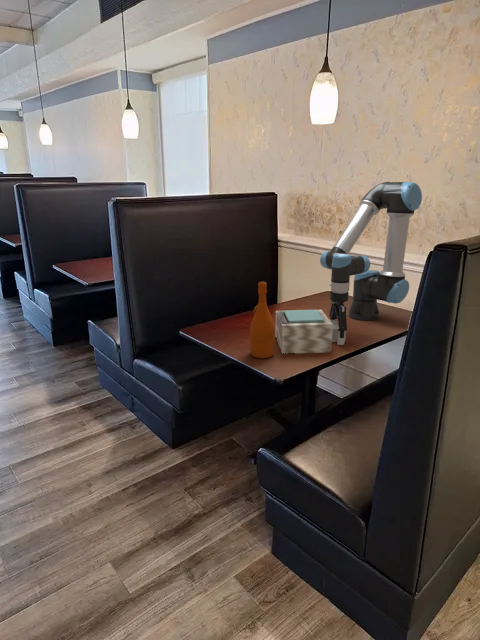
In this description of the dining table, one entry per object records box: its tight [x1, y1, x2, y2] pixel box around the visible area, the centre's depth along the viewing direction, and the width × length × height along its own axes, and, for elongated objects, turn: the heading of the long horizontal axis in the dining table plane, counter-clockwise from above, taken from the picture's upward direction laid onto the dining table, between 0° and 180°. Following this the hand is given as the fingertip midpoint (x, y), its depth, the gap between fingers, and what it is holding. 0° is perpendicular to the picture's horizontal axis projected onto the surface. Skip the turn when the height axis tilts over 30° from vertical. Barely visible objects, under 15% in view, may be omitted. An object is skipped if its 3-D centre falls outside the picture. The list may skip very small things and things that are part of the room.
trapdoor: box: [283, 309, 324, 323], centre depth 180 cm, size 14×14×1 cm
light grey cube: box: [332, 323, 347, 343], centre depth 188 cm, size 6×6×6 cm
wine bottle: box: [249, 281, 276, 359], centre depth 169 cm, size 10×10×30 cm
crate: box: [275, 308, 333, 355], centre depth 182 cm, size 20×20×12 cm
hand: (336, 339), depth 188 cm, fingers open, 12 cm apart
